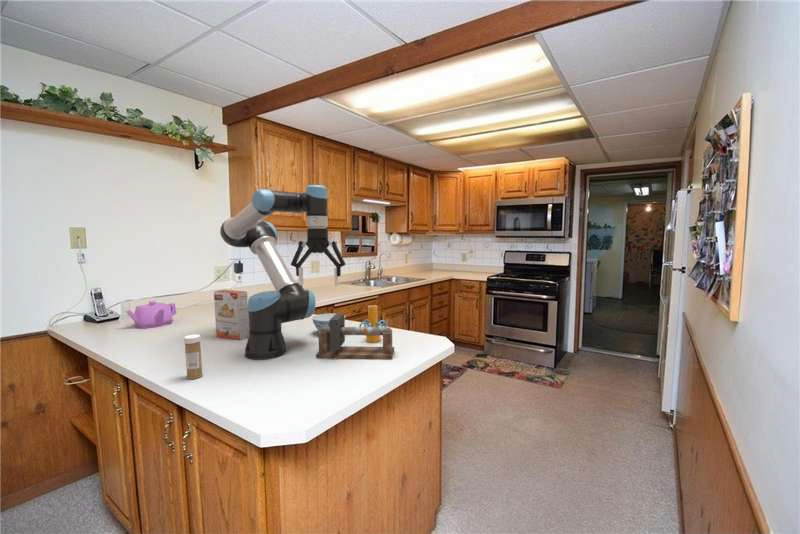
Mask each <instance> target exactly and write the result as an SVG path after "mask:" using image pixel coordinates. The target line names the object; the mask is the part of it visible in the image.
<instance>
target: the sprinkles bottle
mask: <svg viewBox="0 0 800 534" xmlns="http://www.w3.org/2000/svg"><path fill="white" fill-rule="evenodd" d="M201 340H202V339H201V335H200V334H189V335H186V336H184V337H183V343H184V349H185V350H184V351H185V354H184V355H185V366H186V367H185V368H186V378H187V379H189V380H195V379H199V378H202V377H203V361H202V351H201V350H202V349H201Z"/></svg>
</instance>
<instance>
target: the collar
mask: <svg viewBox="0 0 800 534" xmlns="http://www.w3.org/2000/svg"><path fill="white" fill-rule="evenodd" d="M344 315H345V313H336V315H335V316H333V317H332V318H331V319H330V320H329V322H330V350H339V348H340V347H341V346H342V345H344V343H345V341H346V335H340V327H346V326H345V321H346V320H345V321H344Z"/></svg>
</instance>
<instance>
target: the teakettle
mask: <svg viewBox="0 0 800 534" xmlns="http://www.w3.org/2000/svg"><path fill="white" fill-rule="evenodd" d="M125 313H126V314H127V315H128V316H129V317H130V318H131V320H133V322H134V326H135V327H137V328H138V329H139V328H140V329H142V330H146V329H151V328H153V329H154V328H158V327H164V326H168V325H172V323H173V317H174V316H175V315H176V314H177V308H176V303H174V302H173V303H165V302H157V300H150V301H148V304H141V305H136V306H135V310H134V312H133V311H132V310H130V309H129V310H126V311H125Z"/></svg>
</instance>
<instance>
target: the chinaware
mask: <svg viewBox="0 0 800 534" xmlns="http://www.w3.org/2000/svg"><path fill="white" fill-rule="evenodd" d="M336 314H337V313H323V314H322V313H320V314H317V315H313V316H312V323H313V326H314V327H315V328H316V329H317V331H319V332H320V331H321V327H330V322H329V320H330V319H331V318H332V317H333V316H335V315H336ZM346 317H347V316H346V315H345V314H344V321H346Z"/></svg>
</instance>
